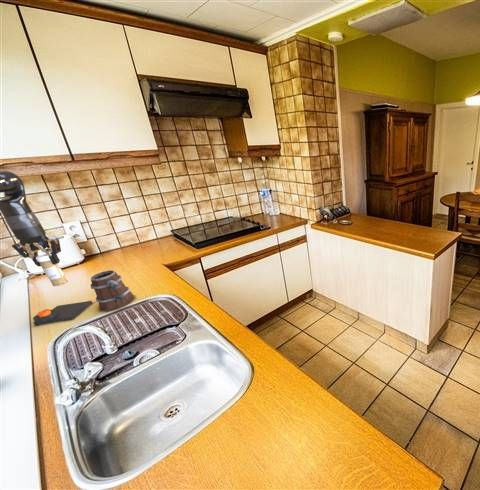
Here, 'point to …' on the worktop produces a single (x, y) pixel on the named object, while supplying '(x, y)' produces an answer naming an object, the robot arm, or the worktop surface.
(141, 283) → the worktop surface
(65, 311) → the scale
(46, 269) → the sprinkles bottle
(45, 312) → the tare button
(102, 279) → the mug
